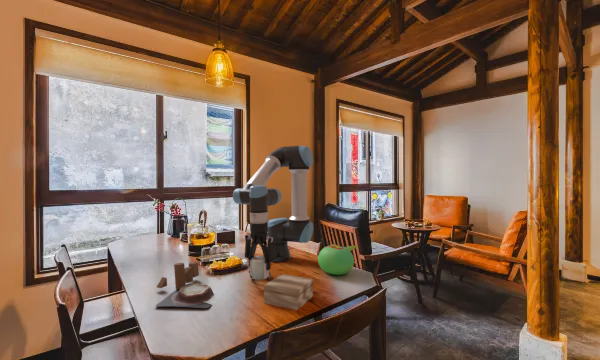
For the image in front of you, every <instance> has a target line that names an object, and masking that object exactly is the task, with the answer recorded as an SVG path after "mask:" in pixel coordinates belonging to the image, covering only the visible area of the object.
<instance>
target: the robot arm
mask: <svg viewBox="0 0 600 360" xmlns="http://www.w3.org/2000/svg"><path fill="white" fill-rule="evenodd" d="M313 163H314V155H313V152H312V150H311V148H310V147H309V146H308V145H292V146H291V145H290V146H281V147H278V148H276V149H274V150H273V151H271V152H270V153H269V154H268V155H267V156H266V157H265V159H264V162H263V164H262V165H261V166H260V168H258V170H256V171H255V173H254V174H253V175H252V176H251V178H250V179H249V180H248V181H247V183H246V184H245V185H244V186H243V187H239V188H235V189H234V190H233V193H232V200H233V202H234V203H235V204H237V205H249V221H250V222H249V230H250V231H249V232H250V233H249V234H246V235H244V239H245V246H244V247H245V248H244V258H245V259H247V260H248V267H249V270H250V273H249V276H250V275H251V276H252V257H254V256H255V255H256V254H255V253H256V251H257V247H258V245H259V247H260V248H261V250H262V254H263V255H262V256H264V258H265V263H264V278H265V279H269V278H268V277H269V271H270V270H271V268H272V267H271V263H272V262H273V263H280V262H286V261H287V262H288V261H289V260H291V251H290V248H289V246H288V242H290V243H291V242H292V243H299V244H303V243H304V244H306V243H307V244H308V243H309V242H310V241H311V239H312V237H313V233H314V223H313V222H312V221H310V219H311V218H310V216H308V197H307V196H308V193H307V192H308V191H307V190H308V186H307V185H308V184H307V182H308V180H307V179H308V178H307V177H308V175H307V174H308V172H309V171H310V168H311V167H312V166H313ZM281 168H288V171H289V172H290V173H291V175H290V176H291V177H290V178H291V183H290V184H291V216H289V218H287V217H278V218H271V219H270V220H269V210H268V208H269V207H270V206H275V205H277V204H279V203H280V202H281V200H282V193H281V191H280V190H279V189H278V188H272V187H270V188H268V187H267V185H266V184H267V183H268V182H269V180H270V179H271V177H272V176H273V175H274V174H275V172H277V171H279V170H280V169H281ZM265 279H264V280H265Z"/></svg>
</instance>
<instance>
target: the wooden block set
mask: <svg viewBox="0 0 600 360" xmlns="http://www.w3.org/2000/svg"><path fill="white" fill-rule="evenodd" d="M173 267H174V268H173V269H174V283H175V289H181V287H183V286H187V284H189V283H191V282H193V281H194V278H197V277H199V276H200V273H199V270H200V269H199V262H197V261H195V262H194V261H193V262H190V263H188V266H187V267H186V266H185V262H177V263H174V265H173ZM167 279H168V278H167V277H164V276H162V277H161V278H160V280H159V282H158V284H157V286H156V288H158V289H162V288H165V287H167V286H168V280H167Z"/></svg>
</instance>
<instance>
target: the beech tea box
mask: <svg viewBox="0 0 600 360" xmlns="http://www.w3.org/2000/svg"><path fill="white" fill-rule="evenodd" d="M312 297H314V279H313V278H307V277H303V276H296V275H291V274H286V273H285V274H284V273H283V274H279V275H278V276H277V277H275V278H274V279H271V280H269V281H268V282H266V283H265V284H264V285H263V303H264V304H266V305H272V306H277V307H279V308H280V307H281V308H284V309H288V310H294V311H298V310H299V309H301V308H302V307H303V306H304V305H305V304H306V303H307V302H308V301H310V299H311V298H312Z"/></svg>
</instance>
